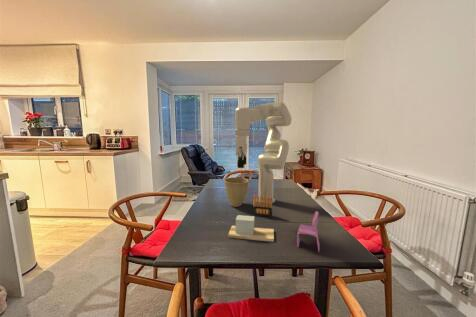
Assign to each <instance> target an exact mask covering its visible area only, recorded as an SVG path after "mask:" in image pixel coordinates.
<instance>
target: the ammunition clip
mask: <svg viewBox="0 0 476 317" xmlns="http://www.w3.org/2000/svg"><path fill="white" fill-rule="evenodd" d="M256 198H257V201H256ZM252 206H253V207H252V215H253V216H258V217H259V216H260V217H261V216H262V217H270V218H273V203H272V196H270V202H269V197H268V195H267V200H265V195H264V197H263V202H262V194H261V196H260V203H259V194H258V193H257V195H256V194H255V193H254V194H253V205H252Z"/></svg>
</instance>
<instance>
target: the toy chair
mask: <svg viewBox="0 0 476 317" xmlns="http://www.w3.org/2000/svg"><path fill="white" fill-rule="evenodd" d="M319 213H320V212H319V211H318V210H317V211H315V212H314V214H313V216H312V219H311V222H312V223H311V224H312V225H306V224H302V223H301V224H300V225H299V227H298V231H297V235H296V243H297V244H296V245H297V248H300V247H299V246H300V242H301V239H300V234H303V235H309V236H313V237H315V238H316V242H317V243H316V244H317V250H318V253H320V240H319V233H318V229H317V226H318V222H319V217H318V216H319Z"/></svg>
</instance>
